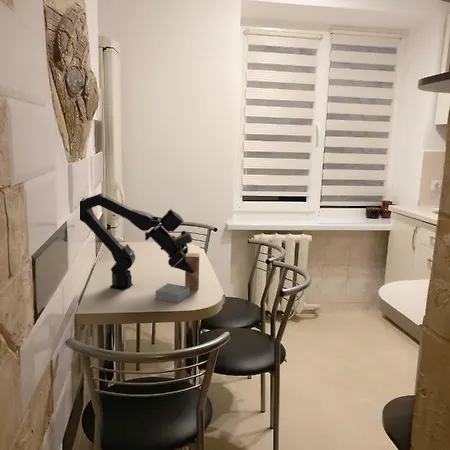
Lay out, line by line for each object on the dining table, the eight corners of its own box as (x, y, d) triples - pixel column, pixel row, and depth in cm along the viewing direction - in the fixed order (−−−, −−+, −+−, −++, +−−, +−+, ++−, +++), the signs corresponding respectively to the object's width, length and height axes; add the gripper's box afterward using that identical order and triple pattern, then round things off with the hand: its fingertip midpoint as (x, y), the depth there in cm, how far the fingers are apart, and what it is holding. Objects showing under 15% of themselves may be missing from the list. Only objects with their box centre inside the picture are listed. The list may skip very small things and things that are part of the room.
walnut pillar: (185, 289, 169) (185, 256, 166) (185, 285, 174) (186, 253, 171) (198, 290, 169) (198, 256, 167) (198, 285, 174) (199, 253, 171)
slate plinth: (155, 299, 159) (155, 290, 158) (167, 291, 167) (167, 283, 166) (178, 303, 155) (178, 294, 155) (189, 294, 164) (189, 286, 163)
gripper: (177, 230, 157) (208, 261, 160) (181, 220, 176) (209, 248, 178) (155, 252, 159) (186, 282, 161) (161, 239, 177) (189, 267, 180)
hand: (193, 268), depth 170 cm, fingers open, 9 cm apart
